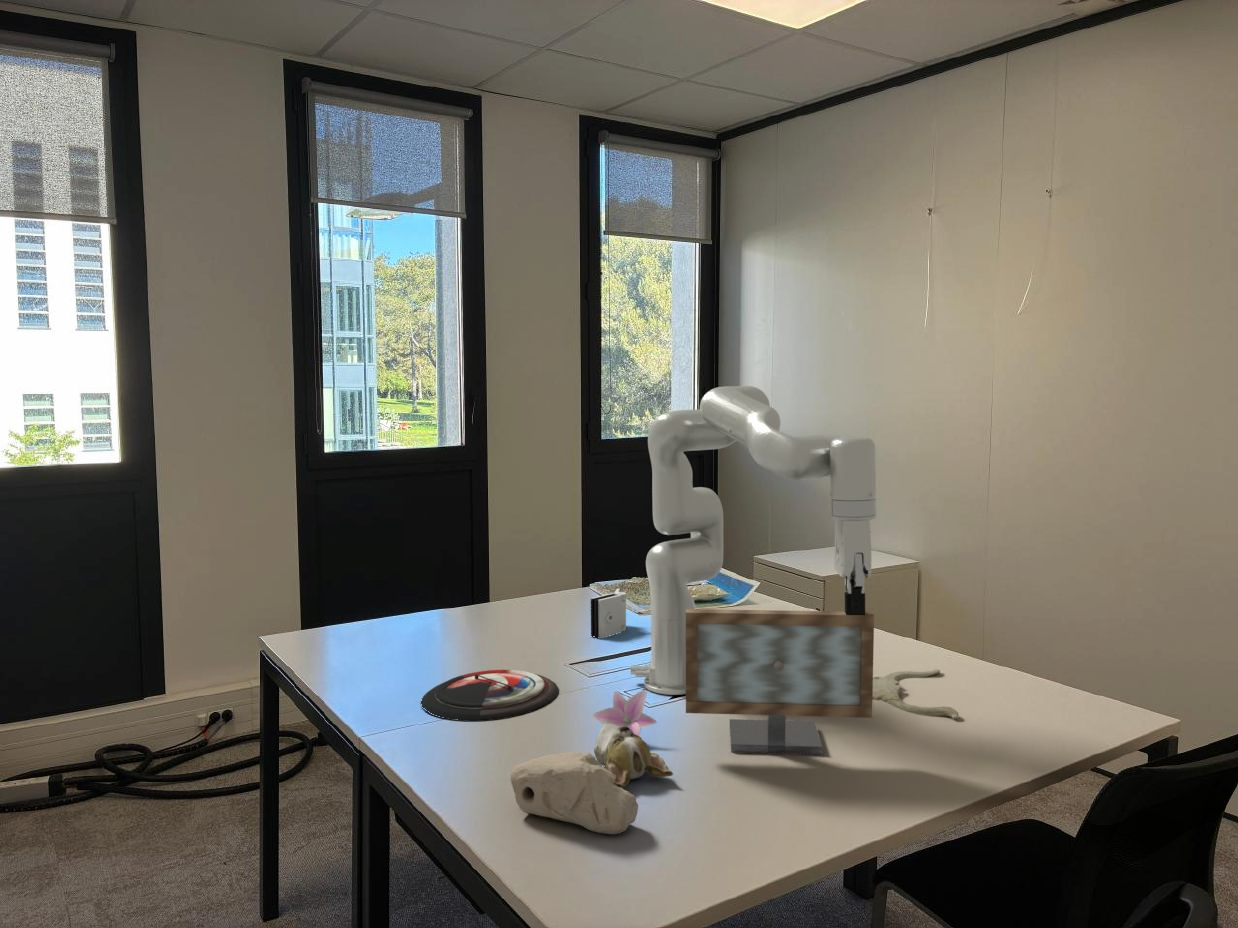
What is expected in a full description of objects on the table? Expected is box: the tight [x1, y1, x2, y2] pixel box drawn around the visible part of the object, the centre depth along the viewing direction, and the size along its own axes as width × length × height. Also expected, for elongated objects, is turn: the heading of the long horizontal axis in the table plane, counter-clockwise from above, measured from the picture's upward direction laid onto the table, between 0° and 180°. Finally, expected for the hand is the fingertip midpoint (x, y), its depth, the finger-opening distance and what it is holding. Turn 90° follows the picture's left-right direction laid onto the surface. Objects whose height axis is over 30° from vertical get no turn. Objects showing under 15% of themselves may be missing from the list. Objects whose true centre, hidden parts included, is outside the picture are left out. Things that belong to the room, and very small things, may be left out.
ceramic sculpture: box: [593, 720, 674, 789], centre depth 157 cm, size 11×9×15 cm
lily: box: [591, 689, 658, 737], centre depth 172 cm, size 11×11×9 cm
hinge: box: [590, 588, 627, 639], centre depth 243 cm, size 14×5×10 cm, turn 147°
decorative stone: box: [510, 751, 639, 835], centre depth 142 cm, size 20×8×10 cm, turn 62°
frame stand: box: [729, 715, 823, 756], centre depth 171 cm, size 16×12×19 cm
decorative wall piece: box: [872, 668, 960, 720], centre depth 198 cm, size 30×3×30 cm
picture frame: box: [685, 608, 875, 719], centre depth 163 cm, size 32×3×18 cm, turn 85°
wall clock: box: [420, 669, 559, 721], centre depth 197 cm, size 27×5×30 cm
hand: (855, 615), depth 160 cm, fingers closed
